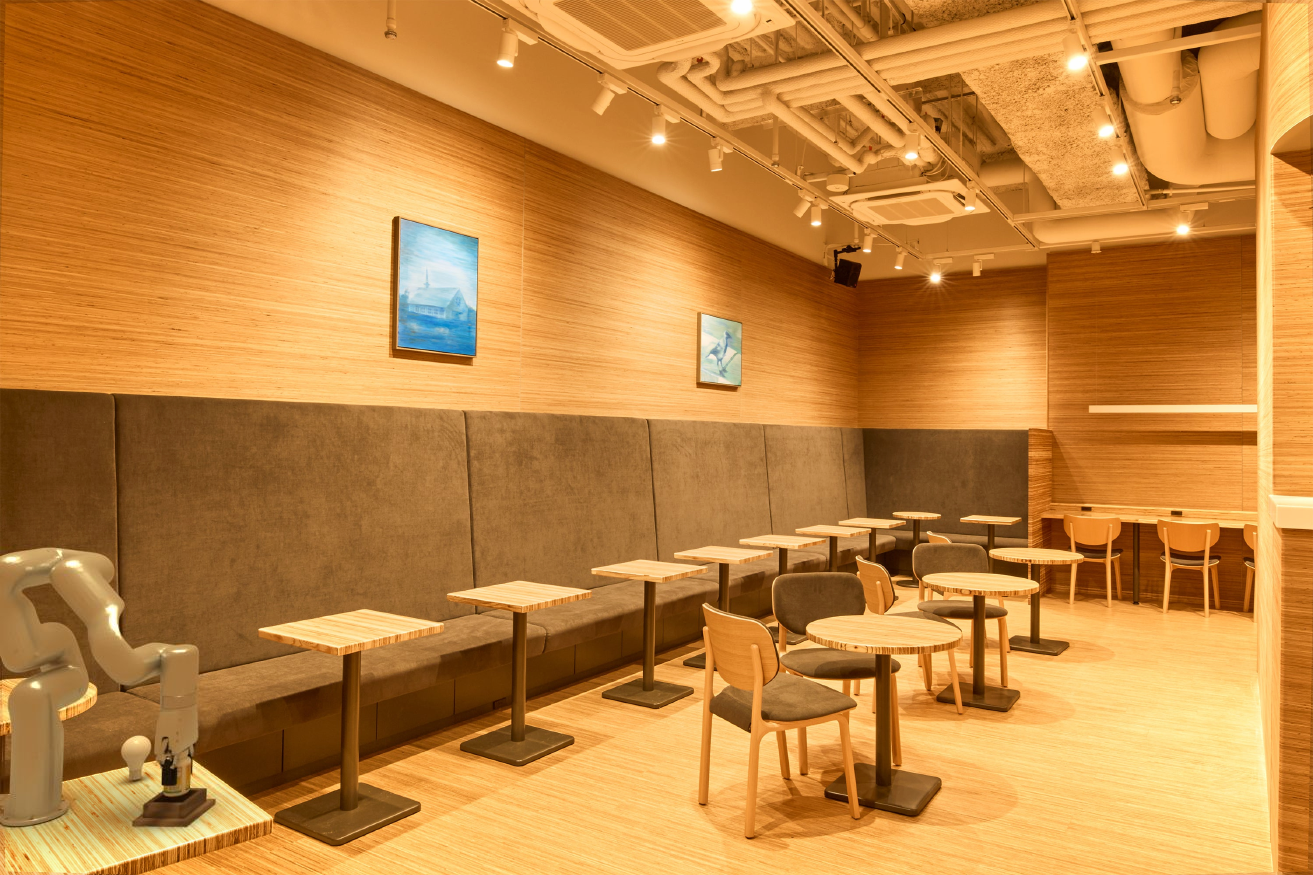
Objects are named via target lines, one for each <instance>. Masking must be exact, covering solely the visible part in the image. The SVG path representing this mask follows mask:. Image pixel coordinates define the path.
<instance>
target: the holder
mask: <svg viewBox="0 0 1313 875" xmlns="http://www.w3.org/2000/svg"><path fill="white" fill-rule="evenodd" d="M207 791H208V788H206V787H190V790H189V791H188V792H187V793H185V794H183V795H179V796H172V797H169V796H165V795H164V793H163V790H161V792H159V793H157V794H156V795H155V796H153V797H152V798H150V799H149V800H148V801H146V802H145V803H143V804H142V813H141V814H140V815H139V816H137V817H135V818H134V819H132V822H131V823H132V824H131V827H154V828H155V827H161V828H162V827H164V828H165V827H167V828H168V827H169V828H170V827H171V828H188V826H190V825H191V824H192V823H193V822H194V821H196V820H197V819H199V818H200V817H201V816H202V815H203V814H205V813H206V812H207V811H209V809H211V808H212V807H213V806H215V805H216V802H217V799H216V798H208V796H207V794H208V792H207Z"/></svg>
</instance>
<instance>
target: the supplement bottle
mask: <svg viewBox="0 0 1313 875" xmlns="http://www.w3.org/2000/svg"><path fill="white" fill-rule="evenodd" d="M168 753H172V751H168ZM187 755H188V748H186V749H185V750H183V751H182V752H180V753H178V755H177V761H176V766H175V767H177V784H176V785H175V786H163V790H162V791H163V793H164V795H165V796H169V797H172V796H179V795H183V794H185V793H187V792H188V791H189V790H190V788H191V782H192V781H191V775H192V774H191V759H190V757H188V756H187ZM167 759H169V760H170V761H171V760H172V756H167Z"/></svg>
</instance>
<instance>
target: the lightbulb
mask: <svg viewBox="0 0 1313 875" xmlns="http://www.w3.org/2000/svg"><path fill="white" fill-rule="evenodd" d="M151 743H152V742H151V741H150V739H149V738H148V737H146V736H144V735H134V736H131V737H130V738H128V739H126V741H125V742H124V743H123V745H122V746H121V748H120V749H121V750H120V754H121V757H122V758H123V761H125V762H126V764H127V768H128V769H129V770H128V772H129V773H128V775H129V776H128V779H129V780H130V781H132V782H136V781H139V780H140V779H141V778H142V776H143V774H142V772H143V771H142V770H143V767H144V764H145V760H146V759H147V757H148V756H149V755H150V753H151V750H152V744H151Z"/></svg>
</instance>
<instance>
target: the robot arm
mask: <svg viewBox="0 0 1313 875" xmlns="http://www.w3.org/2000/svg"><path fill="white" fill-rule="evenodd" d="M115 571H116V570H115V567H114V563H113V562H112V561H111V559H109V558H108V557H107V556H105V555H103V554H101V553H98V552H91V551H83V550H77V549H76V550H74V549H68V548H67V549H66V548H59V547H41V548H35V549H29V550H21V551H14V552H9V553H6V554H3V555H1V556H0V658H1V661H2V664H3V666H4V667H5V668H6V670H8V671H10V672H13V673H25V672H28V671H32V670H35V669H38V668H40V673H36V674H34V675H31V676H29V677H27V678H25V679H23V680H21V681H20V682H19V683H18V684H16V685H15V686H14V687H13V688H12V689H11V691H10V692H9V695H8V698H7V710H8V715H9V720H10V727H11V729H10V730H11V742H10V744H11V746H10V747H11V748H10V750H11V751H10V752H11V753H10V770H9V771H10V772H9V773H10V774H9V775H10V776H9V778H10V779H9V794H4V793H0V808H3V811H2V813H1V814H0V822H1V823H2V825H3V826H7V827H24V826H31V825H36V824H37V825H38V824H41V823H45V822H48V821H51V820H54V819H56V818H58V817H60V816H62V815H64V814H65V813H67V812H68V811H69V809H70V801H69V800H68V799H65V798H62V797H63V796H62V794H63V776H64V775H63V774H64V770H63V769H64V768H63V767H64V750H65V748H64V746H65V745H64V743H65V730H64V729H65V728H64V725H63V722H62V720H61V717H60V714H59V711H60V710H62V709H64V708H66V707H68V706H70V705H72V704H75V703H76V702H78V701H80V700H82V698H83V697H84V696H85V695H86V694H87V692H88V689H89V687H90V679H89V674H88V670H87V667H86V664H85V662H84V658H83V656H82V653H81V649H80V646H79V644H78V641H77V638H76V636H75V635H74V633H73V631H72V630H71V629H70V628H69V627H68V626H67V625H65V624H64V623H63V624H62V623H61V622H57V621H55V622H54V621H53V622H51V621H49V622H43V623H41V621H40V619H39V617H38V613H37V611H36V608H35V606H34V604H33V602H32V601H31V599H29V598H28V597H27V596H26V595H25V594H24V593H23V590H24V589H27V588H30V587H31V588H33V587H35V586H40V585H41V586H42V585H45V584H51V585H52V587H53V589H55V591H56V592H57V593H58V594H59V595H60V597H61V598H62V599H63V600H64V601H65V602H66V604H67V605H68V606H69V607H70V609H72V611H73V612H74V613H75V614H76V616H77V617H78V618H79V619H80V620H81V621H82V622H83V624H84V626H85V627H86V628H87V640H88V644H89V648H90V651H91V654H92V656H93V658H94V660H95V661H96V663H97V664H98V665H99V666H100V667H101V668H102V670H103V671H104V672H105V673H106V675H107V676H109V677H110V678H111V679H112V680H113V681H114V682H116V683H117V684H120V685H123V686H135V685H137V684H140V683H143V682H144V681H148V680H149V679H150V678H154V677H157V676H160V683H159V684H160V685H159V687H160V690H159V697H160V699H159V711H158V712H159V713H158V716H157V718H156V719H157V720H156V728H155V735H154V750H153V752H154V755H155V761H156V762H157V763H158V765H159V766H160V769H161V784H160V785H161V786H162V787H164V786H175V785H176V784H177V767H175V766H176V761H177V755H178V753H180V752H182V751H183V750H185V749H186V748H188V755H187V756H188V757H190V759H191V775H192V774H193V770H194V769H193V761H194V755H195V748H196V743H197V741H198V739H199V737H200V736H199V712H198V710H199V709H198V704H199V703H198V702H199V665H200V651H199V648H198V646H196V645H195V644H194V645H193V644H170V643H162V642H150V643H146V644H144V645H141V646H137V647H136V648H135V647H134V648H133V647H131V646H130V644H129V643H128V642H127V641H126V640H125V638H124V636H122V633H121V631H120V626H119V622H120V621H119V620H120V617H121V614H122V613H123V611H124V610H125V605H126V604H125V602H124V600H123V599H122V597H120V595H119V594H118V593H117V592H116V591H115V590H114V588H113V587H112V585H110V584H109V583H111V582H112V580H113V578H114V576H115ZM168 751H172V753H168ZM168 756H172V760H171V761H170V760H169V758H168ZM1 823H0V824H1Z"/></svg>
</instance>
